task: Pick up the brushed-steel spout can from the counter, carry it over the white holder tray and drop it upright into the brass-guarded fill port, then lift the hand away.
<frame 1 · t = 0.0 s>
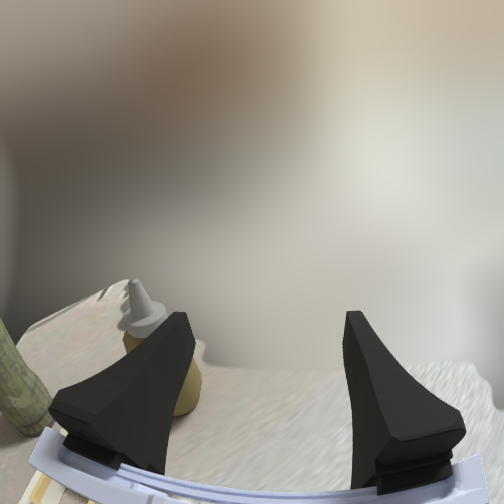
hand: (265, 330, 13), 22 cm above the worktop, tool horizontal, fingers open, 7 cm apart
white holder tray: (84, 503, 17), on the worktop
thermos: (37, 415, 28), on the worktop
squeeze bottle: (178, 400, 33), on the worktop
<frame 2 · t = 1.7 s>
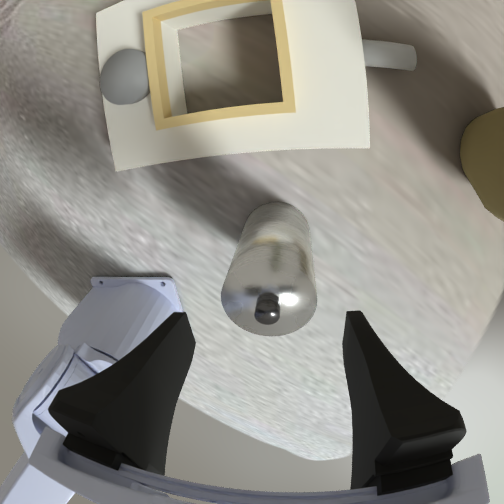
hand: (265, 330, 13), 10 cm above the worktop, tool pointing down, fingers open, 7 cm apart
spout can: (276, 233, 21), on the worktop
white holder tray: (228, 61, 16), on the worktop
squeeze bottle: (484, 152, 16), on the worktop
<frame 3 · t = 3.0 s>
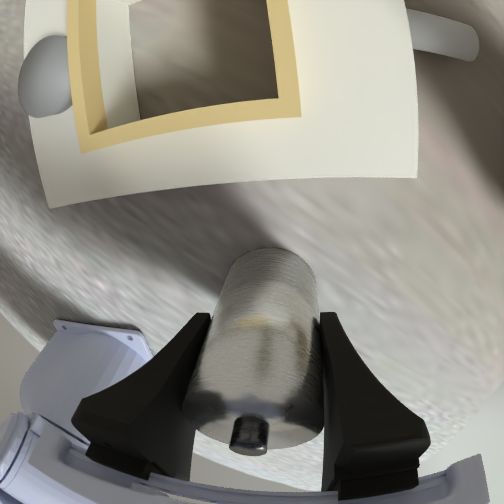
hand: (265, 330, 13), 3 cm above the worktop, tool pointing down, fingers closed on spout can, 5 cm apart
spout can: (270, 287, 15), on the worktop, touching gripper
white holder tray: (198, 41, 10), on the worktop
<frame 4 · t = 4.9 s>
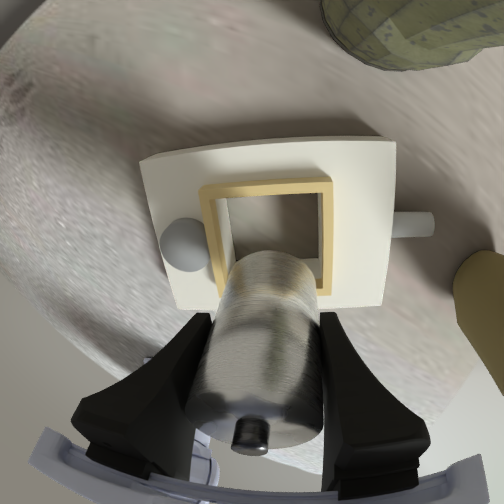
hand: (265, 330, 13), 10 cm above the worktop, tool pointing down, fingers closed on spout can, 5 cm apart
spout can: (271, 289, 15), point 7 cm above the worktop, touching gripper
white holder tray: (273, 221, 21), on the worktop
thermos: (382, 17, 13), on the worktop
squeeze bottle: (474, 275, 21), on the worktop
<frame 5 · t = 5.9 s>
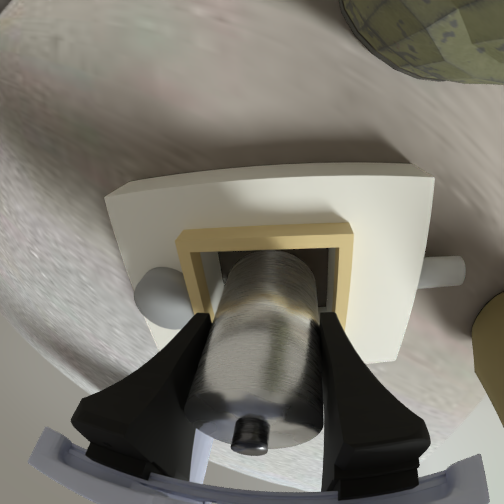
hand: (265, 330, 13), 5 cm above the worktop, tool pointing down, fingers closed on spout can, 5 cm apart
spout can: (271, 289, 15), point 2 cm above the worktop, touching gripper
white holder tray: (273, 265, 17), on the worktop
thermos: (415, 10, 9), on the worktop
squeeze bottle: (495, 315, 17), on the worktop
when the fingers open (5 cm above the worktop, at t = 6.8 s): spout can drops 2 cm, resting in white holder tray.
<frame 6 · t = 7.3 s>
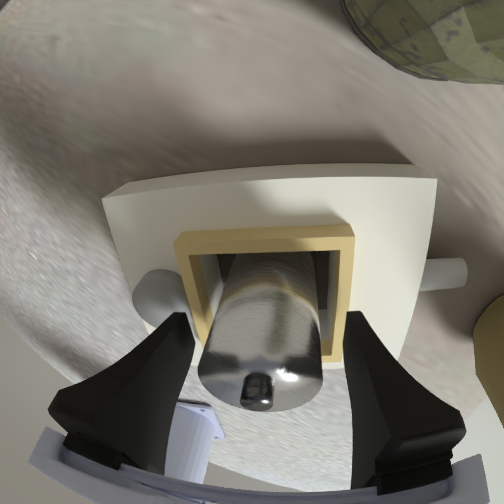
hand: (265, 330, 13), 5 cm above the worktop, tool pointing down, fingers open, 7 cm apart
spout can: (273, 270, 17), resting in white holder tray
white holder tray: (273, 267, 17), on the worktop
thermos: (417, 9, 9), on the worktop
squeeze bottle: (497, 316, 17), on the worktop
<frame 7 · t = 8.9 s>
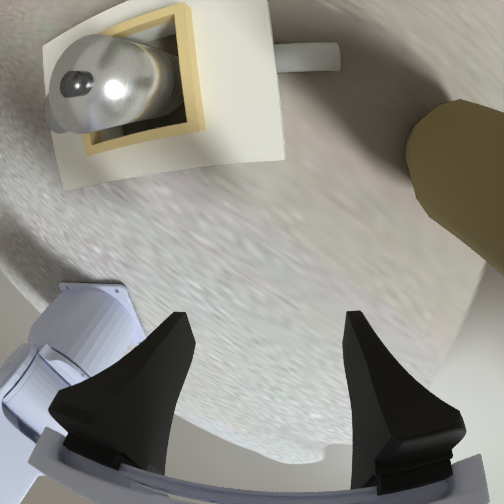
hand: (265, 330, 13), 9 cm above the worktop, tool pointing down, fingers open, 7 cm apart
spout can: (157, 84, 16), resting in white holder tray
white holder tray: (156, 82, 16), on the worktop
squeeze bottle: (438, 153, 16), on the worktop
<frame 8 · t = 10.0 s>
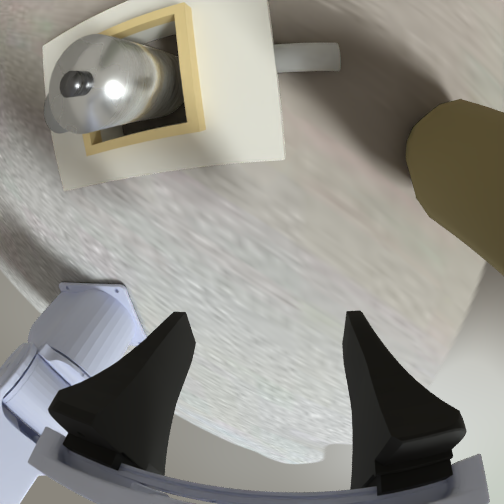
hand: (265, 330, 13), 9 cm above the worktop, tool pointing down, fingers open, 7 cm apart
spout can: (157, 84, 16), resting in white holder tray
white holder tray: (156, 82, 16), on the worktop
squeeze bottle: (438, 153, 16), on the worktop
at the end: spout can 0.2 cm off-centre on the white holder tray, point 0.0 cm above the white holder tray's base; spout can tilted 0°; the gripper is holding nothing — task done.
